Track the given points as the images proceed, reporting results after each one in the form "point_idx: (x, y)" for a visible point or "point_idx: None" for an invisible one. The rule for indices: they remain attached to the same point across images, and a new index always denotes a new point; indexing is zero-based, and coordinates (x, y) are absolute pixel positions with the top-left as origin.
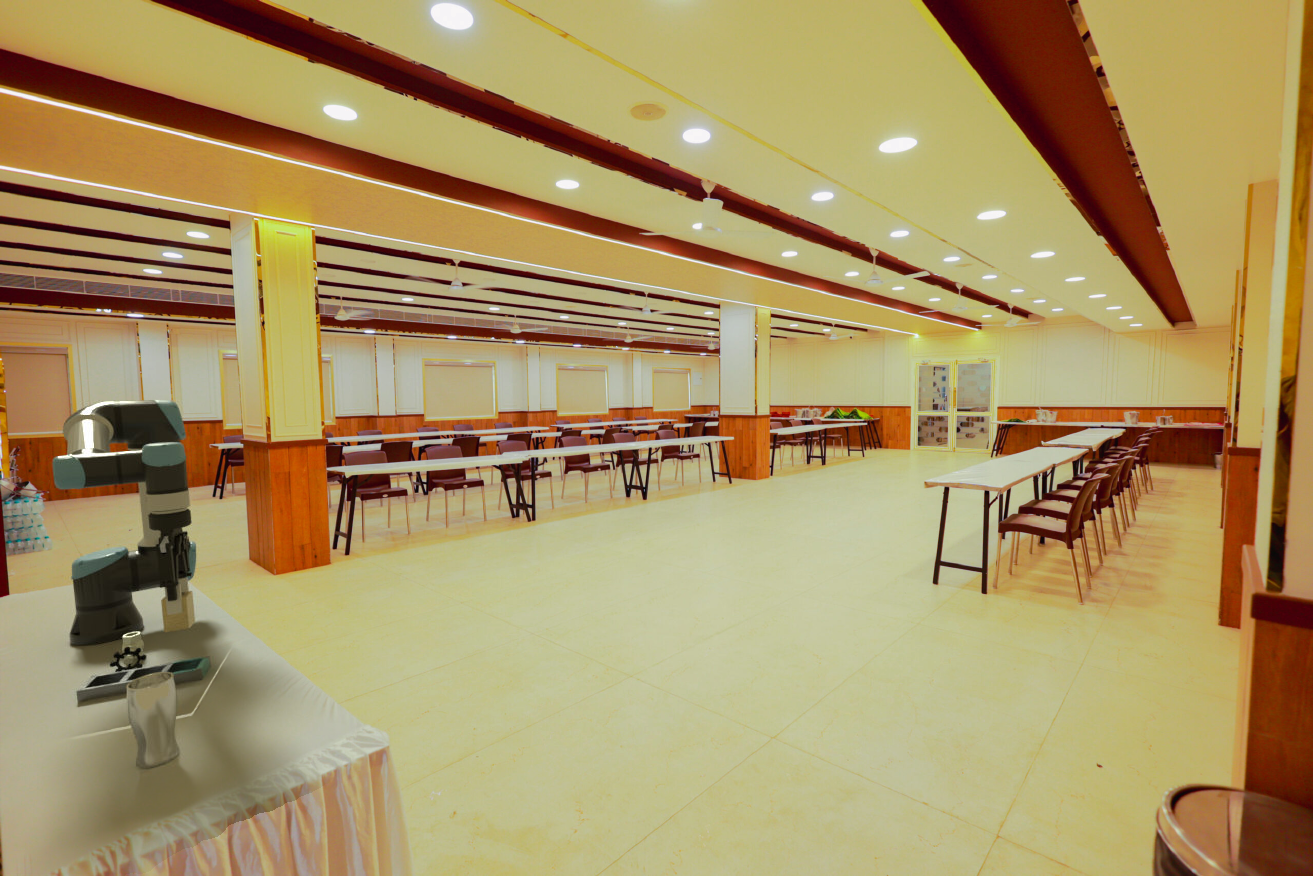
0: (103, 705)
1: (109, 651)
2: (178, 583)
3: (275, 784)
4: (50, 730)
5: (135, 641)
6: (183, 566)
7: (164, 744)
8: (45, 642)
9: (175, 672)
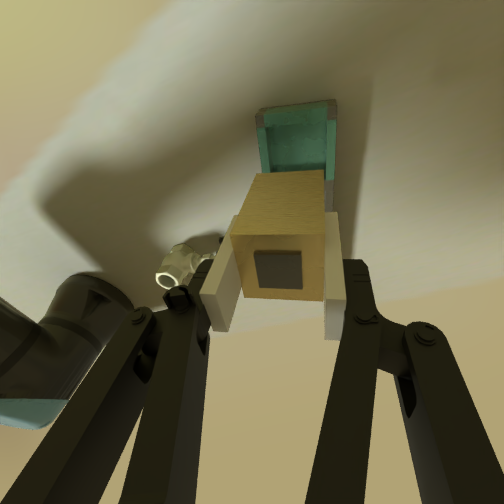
0: (353, 238)
1: (153, 285)
2: (363, 311)
3: None
4: (407, 271)
5: (177, 269)
6: (190, 362)
7: None
8: None
9: (329, 160)
